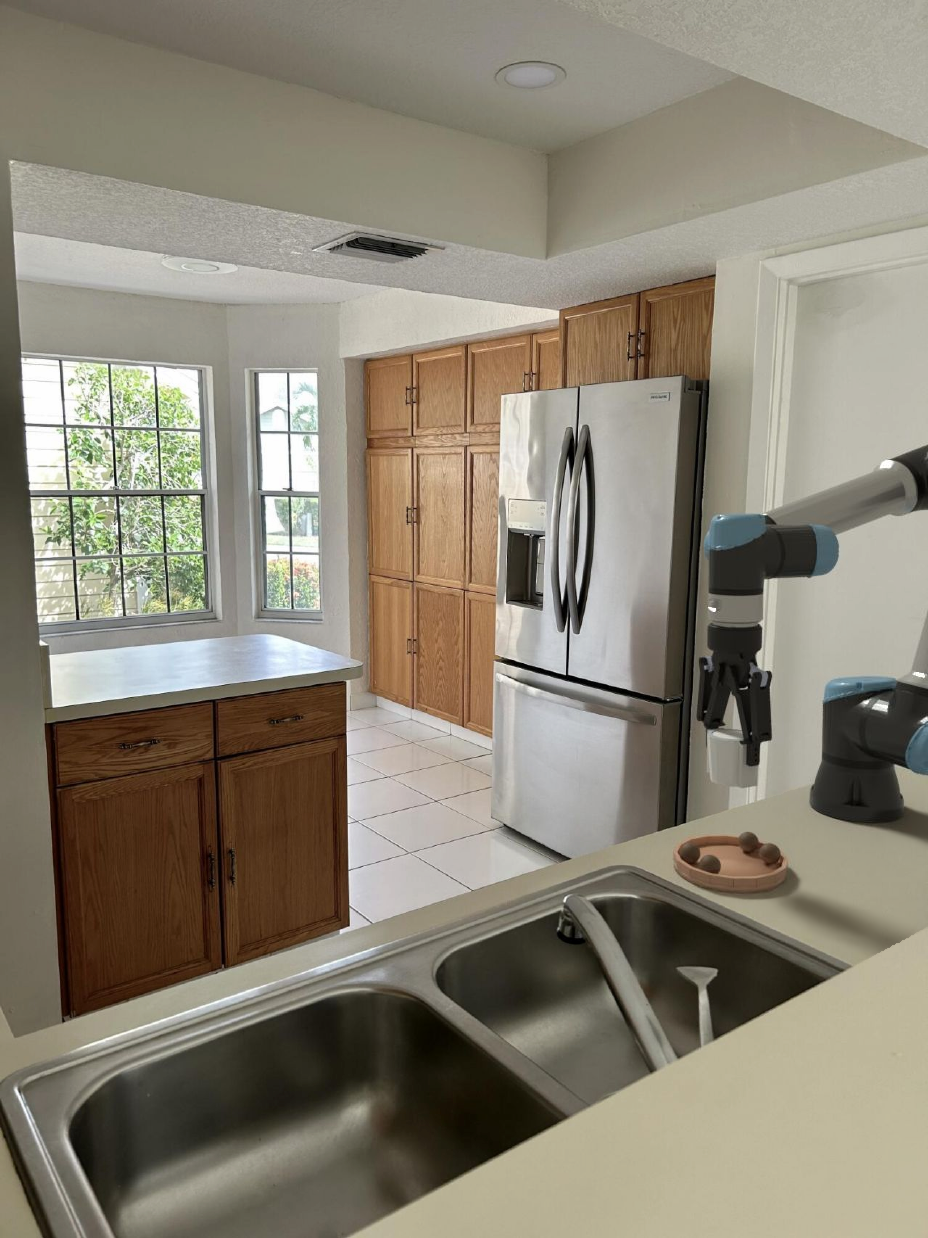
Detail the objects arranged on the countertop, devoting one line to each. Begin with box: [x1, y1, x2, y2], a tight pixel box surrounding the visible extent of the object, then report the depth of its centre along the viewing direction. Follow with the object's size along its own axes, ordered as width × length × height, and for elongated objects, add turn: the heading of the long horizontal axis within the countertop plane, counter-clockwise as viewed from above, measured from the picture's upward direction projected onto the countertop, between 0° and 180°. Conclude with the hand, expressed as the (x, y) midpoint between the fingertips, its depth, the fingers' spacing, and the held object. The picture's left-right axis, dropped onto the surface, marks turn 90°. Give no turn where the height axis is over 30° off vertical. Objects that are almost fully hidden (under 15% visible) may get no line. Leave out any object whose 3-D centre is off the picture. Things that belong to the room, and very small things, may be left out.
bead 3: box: [738, 831, 760, 852], centre depth 139 cm, size 3×3×3 cm
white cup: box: [707, 728, 752, 788], centre depth 132 cm, size 7×7×7 cm
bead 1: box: [680, 843, 700, 864], centre depth 135 cm, size 3×3×3 cm
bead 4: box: [759, 842, 781, 864], centre depth 134 cm, size 3×3×3 cm
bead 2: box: [699, 855, 721, 874], centre depth 130 cm, size 3×3×3 cm
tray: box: [672, 834, 789, 894], centre depth 135 cm, size 16×16×2 cm
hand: (731, 778), depth 133 cm, fingers closed on white cup, 7 cm apart
